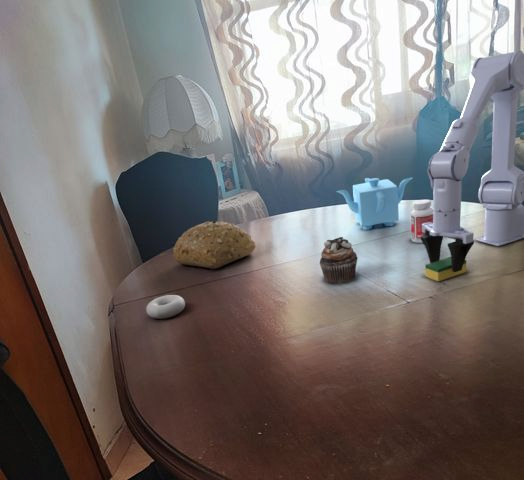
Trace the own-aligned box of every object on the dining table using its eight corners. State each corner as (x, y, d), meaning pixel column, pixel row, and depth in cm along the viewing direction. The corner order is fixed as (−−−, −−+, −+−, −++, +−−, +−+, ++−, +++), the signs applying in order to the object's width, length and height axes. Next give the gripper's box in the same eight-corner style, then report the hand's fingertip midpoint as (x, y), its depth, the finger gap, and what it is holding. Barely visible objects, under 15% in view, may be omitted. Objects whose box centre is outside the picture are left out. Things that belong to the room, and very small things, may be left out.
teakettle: (384, 234, 146) (382, 185, 139) (336, 230, 158) (332, 185, 151) (415, 216, 156) (415, 171, 149) (368, 214, 169) (365, 172, 162)
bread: (168, 266, 154) (158, 231, 149) (215, 246, 167) (207, 212, 161) (216, 275, 139) (207, 236, 133) (264, 251, 151) (257, 214, 145)
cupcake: (314, 278, 123) (310, 241, 118) (345, 268, 125) (342, 231, 120) (333, 288, 115) (329, 249, 110) (366, 277, 117) (363, 238, 112)
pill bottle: (438, 238, 133) (438, 199, 128) (423, 244, 131) (423, 205, 126) (420, 235, 138) (420, 197, 133) (406, 241, 136) (405, 203, 130)
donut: (187, 302, 124) (150, 308, 124) (184, 290, 122) (147, 296, 122) (185, 317, 115) (145, 324, 115) (182, 304, 113) (141, 311, 113)
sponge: (452, 267, 113) (452, 255, 112) (465, 272, 109) (466, 260, 108) (425, 276, 111) (425, 264, 110) (438, 281, 107) (438, 269, 106)
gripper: (411, 208, 108) (411, 264, 114) (455, 218, 96) (453, 279, 102) (436, 201, 110) (435, 256, 116) (482, 210, 97) (479, 270, 104)
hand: (445, 266), depth 109 cm, fingers open, 7 cm apart
